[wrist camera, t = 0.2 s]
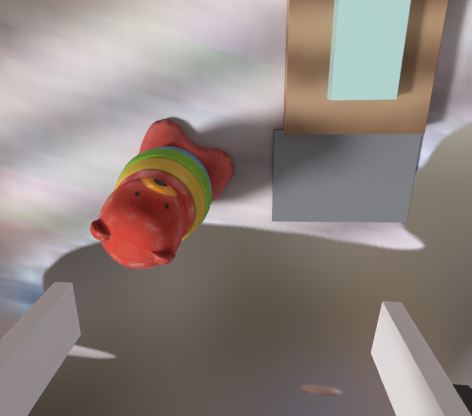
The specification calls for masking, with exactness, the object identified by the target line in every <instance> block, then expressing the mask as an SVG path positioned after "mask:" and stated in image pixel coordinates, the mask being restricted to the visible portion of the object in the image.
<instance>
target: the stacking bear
mask: <svg viewBox="0 0 472 416" xmlns="http://www.w3.org/2000/svg"><path fill="white" fill-rule="evenodd" d="M233 172H234V166H233V164H232V158H231V157H230V156H229V155H226V154H225V152H224V151H222V150H220V149H205V148H201V147H199V146H197V145H195V144H194V143H192V142H191V141H190V140H189V139H188V138H187V137H186V135H185V134H184V132H183V130H182V128H181V127H180V126H179V125H178V124H177V123H173V122H171V121H170V120H169V119H164V120H162V121H156V122H154V123H153V124H152V125H151V126H150V128H149V129H148V131H147V133H146V135H145V137H144V139H143V142H142V145H141V148H140V152H139V155H137V156H135V157H134V158H133V159H132V160H131V161H130V162H129V163H128V164H127V165H126V167H125V168H124V169H123V171H122V173H121V175H120V177H119V179H118V182H117V184H116V187H115V191H114V192H113V193H112V194H111V195H110V196H109V197H108V199H107V200H106V202H105V203H104V205H103V207H102V210H101V213H100V217H99V219H98V220H95V221H93V222H92V224H91V226H90V230H91V234H92V235H93V236H94V237H95V238H96V239H98V240H100V241H101V242H102V244H103V246H104V248H105V250H106V251H107V252H108V254H109V255H110V256H111V257H112V258H113V259H114V260H115V261H117V262H118V263H120V264H122V265H124V266H126V267H129V268H135V269H146V268H151V267H154V266H158V265H160V264H161V265H165V264H168V263H170V262H171V261H173V259H174V258H175V252H176V250H177V249H178V247H179V245H180V243H181V241H182V240H184V239H186V238H187V237H188V236H189V235H191V234H192V233H193V232H194V231H195V230H196V229H197V228H198V227H199V226H200V224H201V223H202V222H203V220H204V219H205V217H206V215H207V213H208V211H209V208H210V204H211V201H212V200H214V199H215V198H216V197H217V196H218V195H219V194H220V193H221V192H222V191H223V189H224V188H225V187H226V185H227V184H228V182H229V181H230V179H231V177H232V175H233Z"/></svg>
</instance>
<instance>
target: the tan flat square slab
mask: <svg viewBox="0 0 472 416" xmlns="http://www.w3.org/2000/svg"><path fill="white" fill-rule="evenodd" d="M334 1H335V0H287V29H286V60H285V92H284V123H283V130H284V133H285V135H293V134H419V133H425V127H426V122H427V116H428V111H429V105H430V99H431V94H432V88H433V83H434V77H435V71H436V66H437V60H438V55H439V49H440V43H441V38H442V32H443V27H444V21H445V15H446V10H447V4H448V0H411V3H410V10H409V17H408V24H407V31H406V38H405V45H404V51H403V58H402V65H401V72H400V79H399V86H398V93H397V100H329V99H327V94H328V81H329V67H330V54H331V41H332V27H333V14H334Z"/></svg>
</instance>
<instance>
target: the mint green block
mask: <svg viewBox="0 0 472 416" xmlns="http://www.w3.org/2000/svg"><path fill="white" fill-rule="evenodd" d="M410 3H411V0H335V1H334V14H333V27H332V41H331V54H330V67H329V81H328V94H327V99H329V100H397V93H398V86H399V79H400V72H401V65H402V58H403V51H404V45H405V38H406V31H407V24H408V17H409V10H410Z"/></svg>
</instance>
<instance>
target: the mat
mask: <svg viewBox="0 0 472 416" xmlns="http://www.w3.org/2000/svg"><path fill="white" fill-rule="evenodd" d="M421 137H422V133H419V134H293V135H285V133H284V130H274V164H273V208H272V221H298V222H407V216H408V210H409V205H410V199H411V193H412V188H413V182H414V176H415V171H416V165H417V159H418V154H419V148H420V142H421Z"/></svg>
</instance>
